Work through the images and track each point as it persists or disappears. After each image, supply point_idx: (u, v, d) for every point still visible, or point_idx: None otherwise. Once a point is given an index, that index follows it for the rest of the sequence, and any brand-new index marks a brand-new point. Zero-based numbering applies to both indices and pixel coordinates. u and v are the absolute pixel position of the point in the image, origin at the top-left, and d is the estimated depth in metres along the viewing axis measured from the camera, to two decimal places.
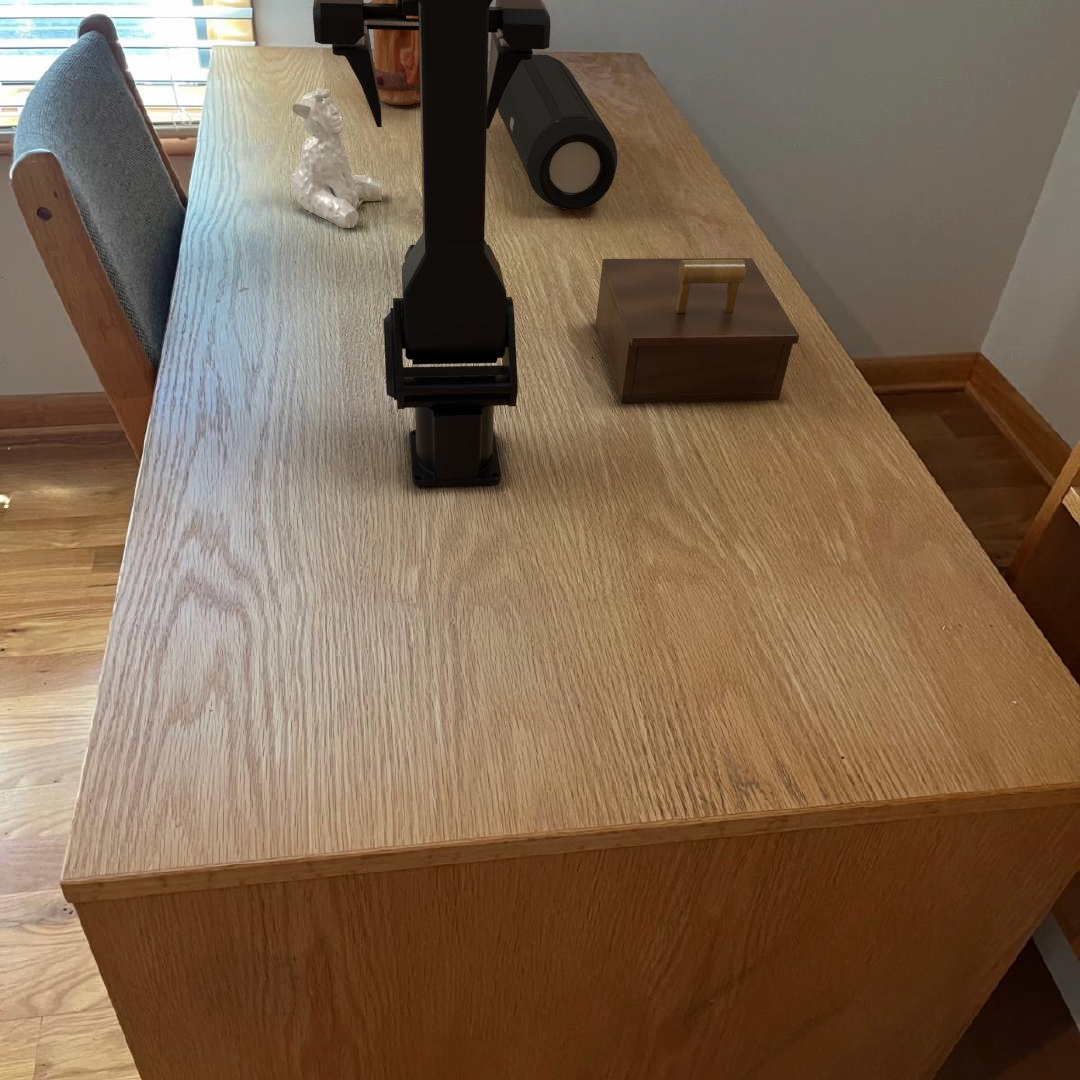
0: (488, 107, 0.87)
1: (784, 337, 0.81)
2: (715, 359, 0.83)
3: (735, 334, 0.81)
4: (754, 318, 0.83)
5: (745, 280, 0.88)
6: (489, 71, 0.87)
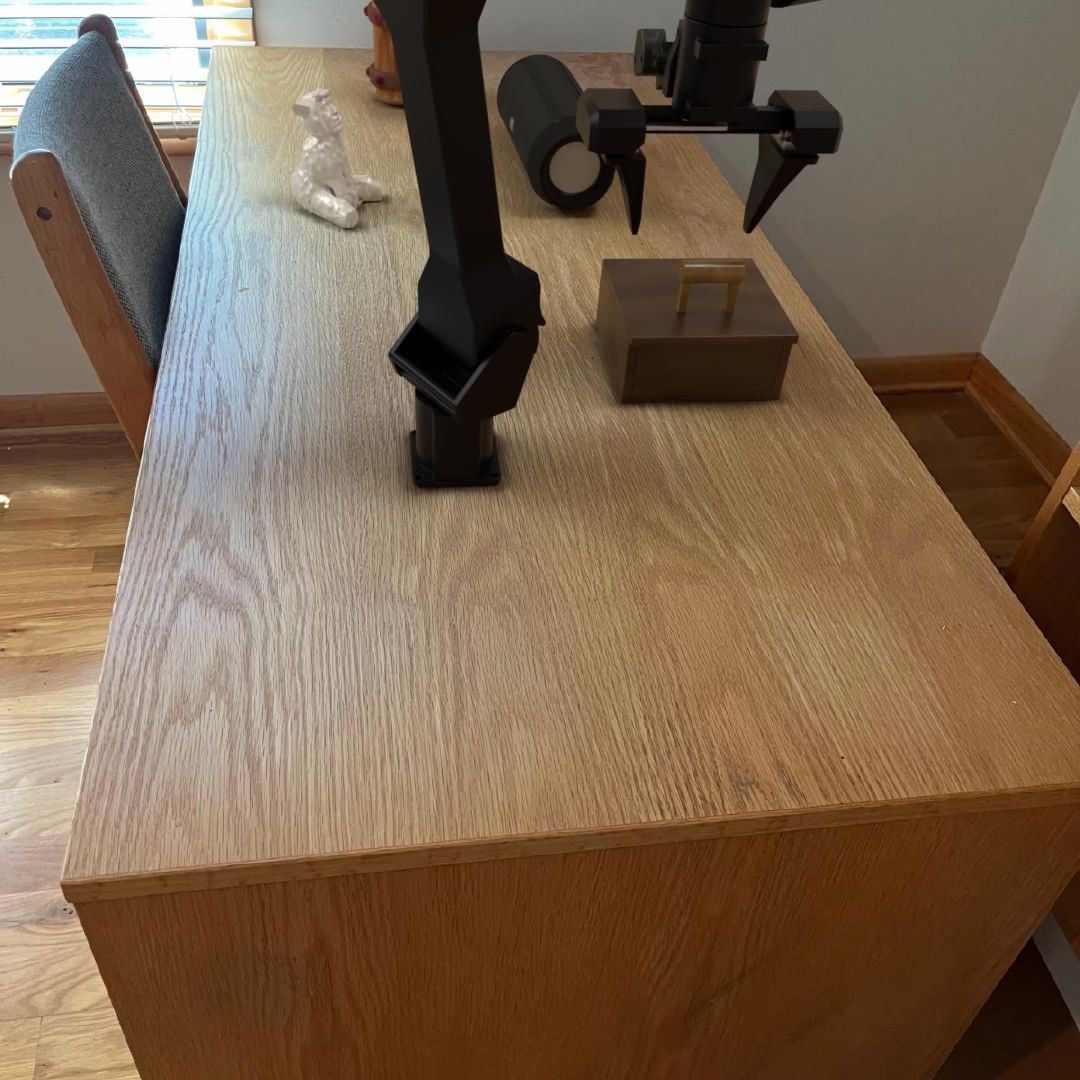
0: (757, 212, 0.79)
1: (784, 337, 0.81)
2: (715, 359, 0.83)
3: (735, 334, 0.81)
4: (754, 318, 0.83)
5: (745, 280, 0.88)
6: (758, 173, 0.78)
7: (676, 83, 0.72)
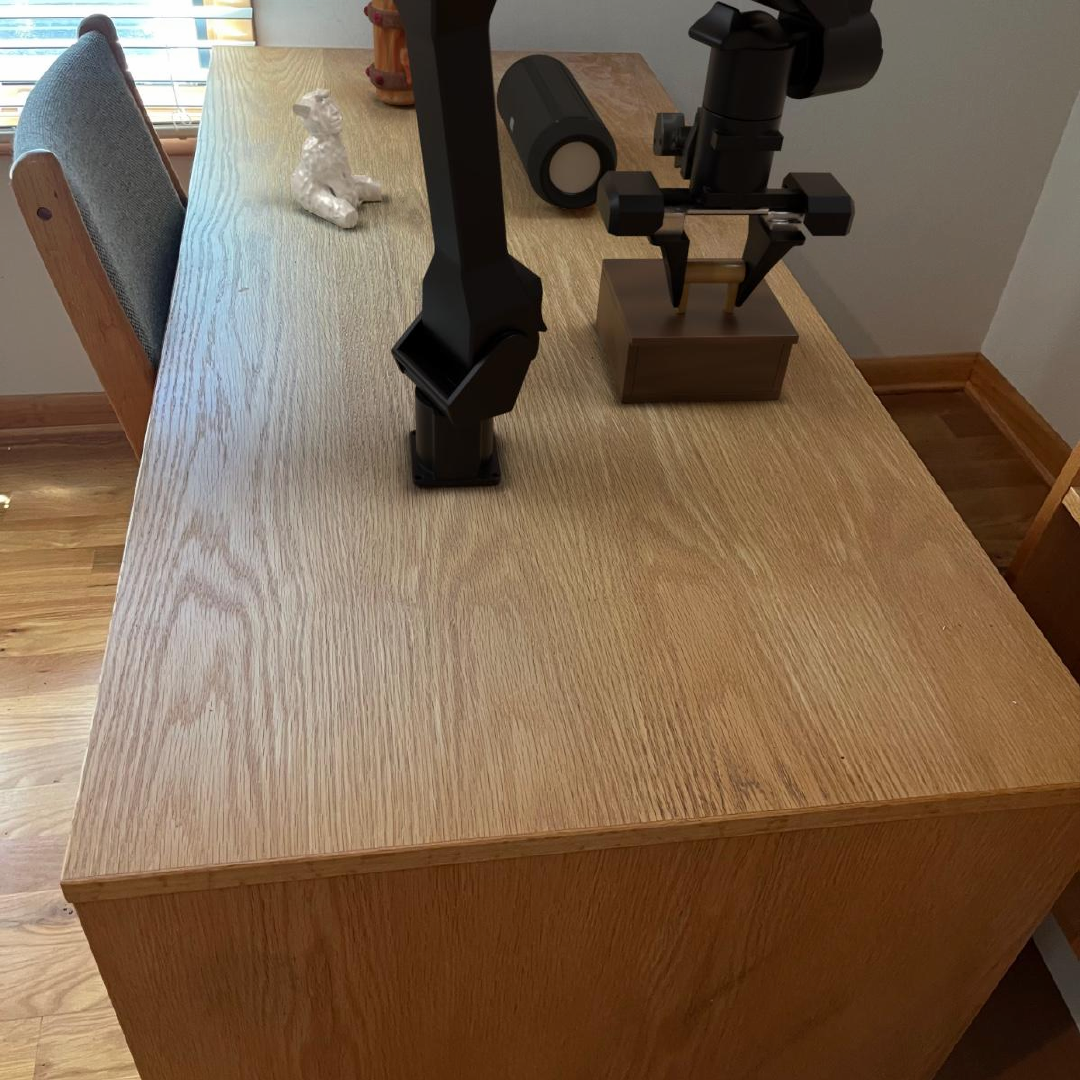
0: (746, 288, 0.81)
1: (784, 337, 0.81)
2: (715, 359, 0.83)
3: (735, 334, 0.81)
4: (754, 318, 0.83)
5: None
6: (748, 250, 0.81)
7: (694, 169, 0.75)
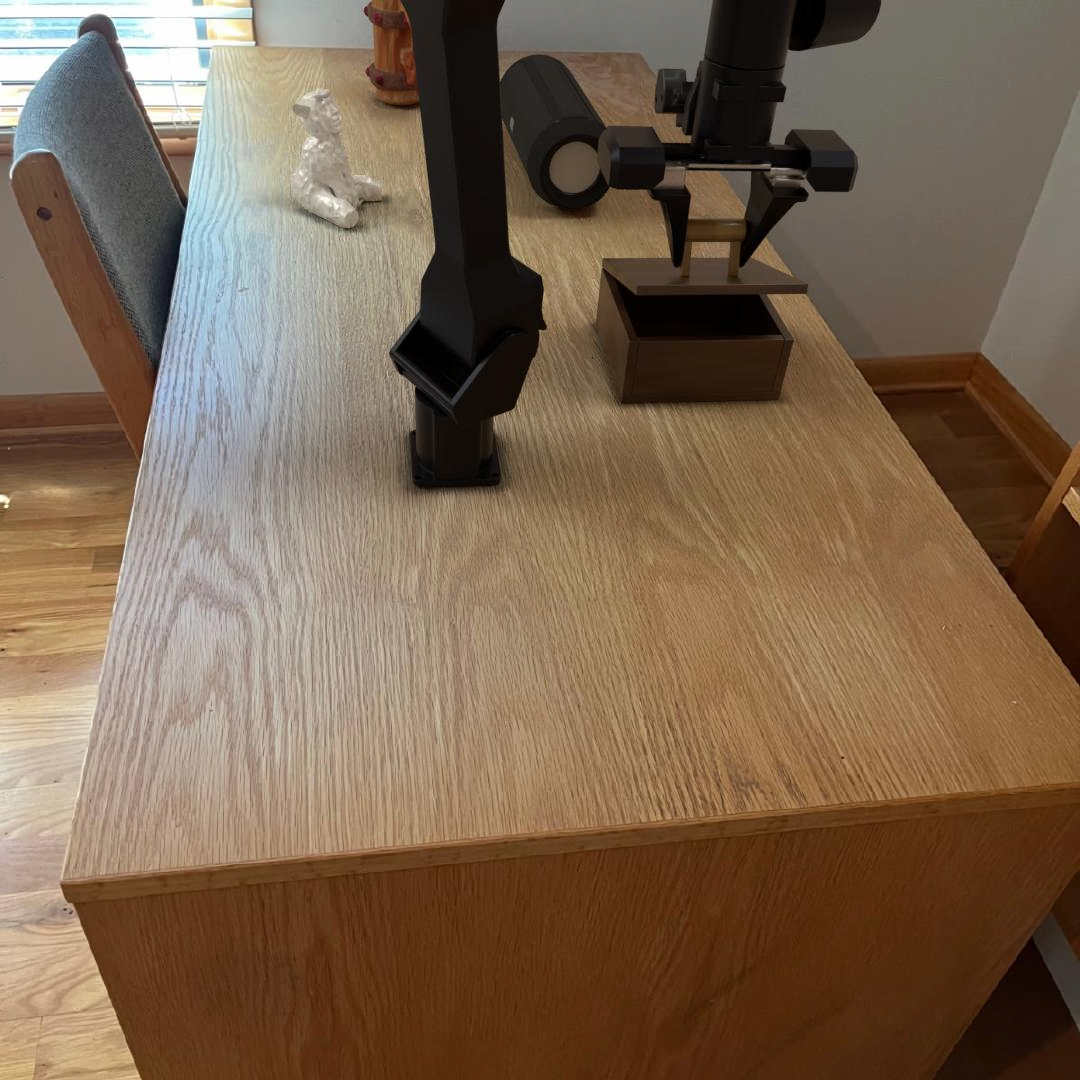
0: (748, 247, 0.80)
1: (793, 286, 0.79)
2: (715, 359, 0.83)
3: (742, 283, 0.79)
4: (760, 277, 0.81)
5: (747, 264, 0.87)
6: (750, 209, 0.80)
7: (696, 122, 0.74)
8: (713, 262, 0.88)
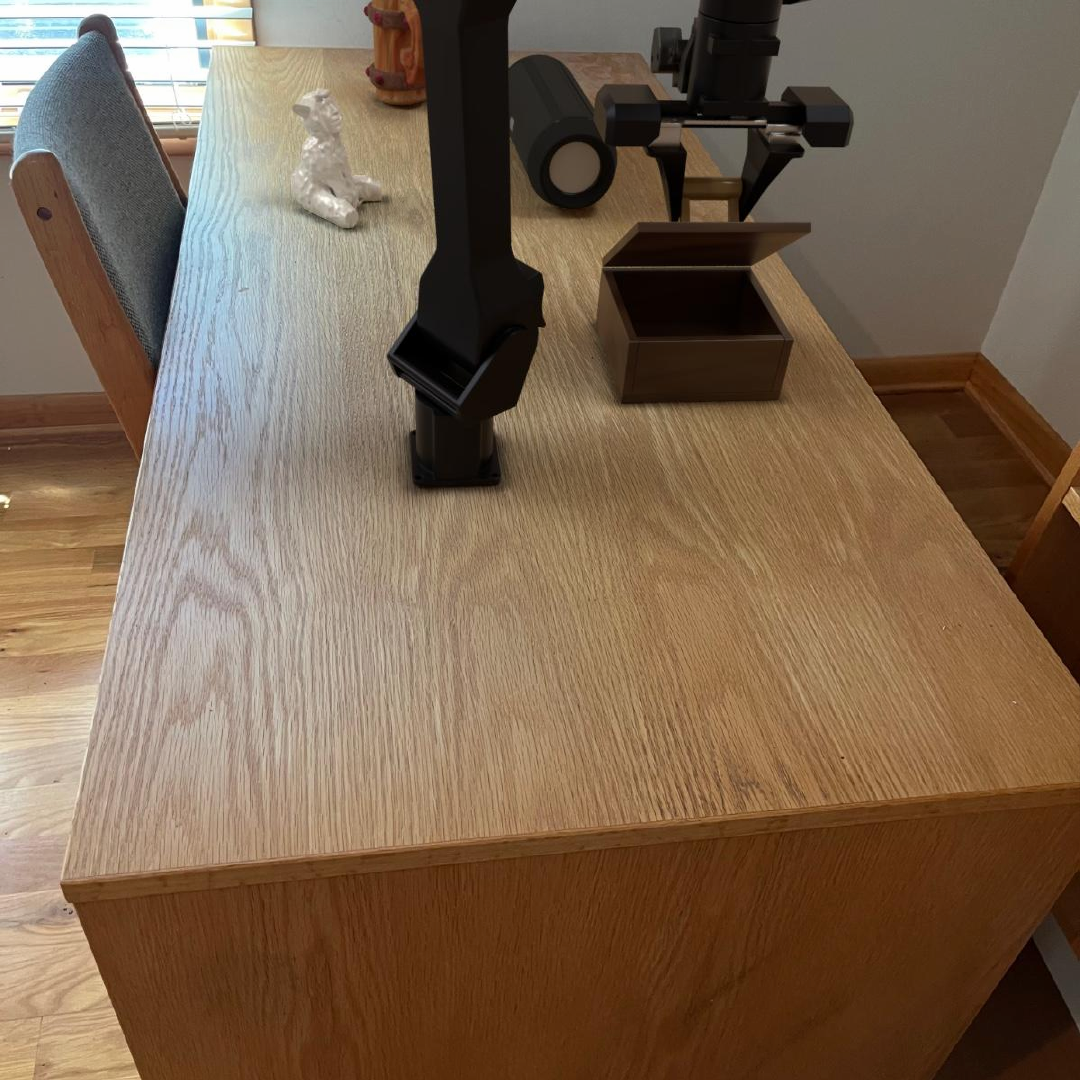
0: (745, 206, 0.80)
1: (796, 224, 0.78)
2: (715, 359, 0.83)
3: (744, 222, 0.78)
4: None
5: None
6: (747, 167, 0.80)
7: (691, 79, 0.75)
8: None
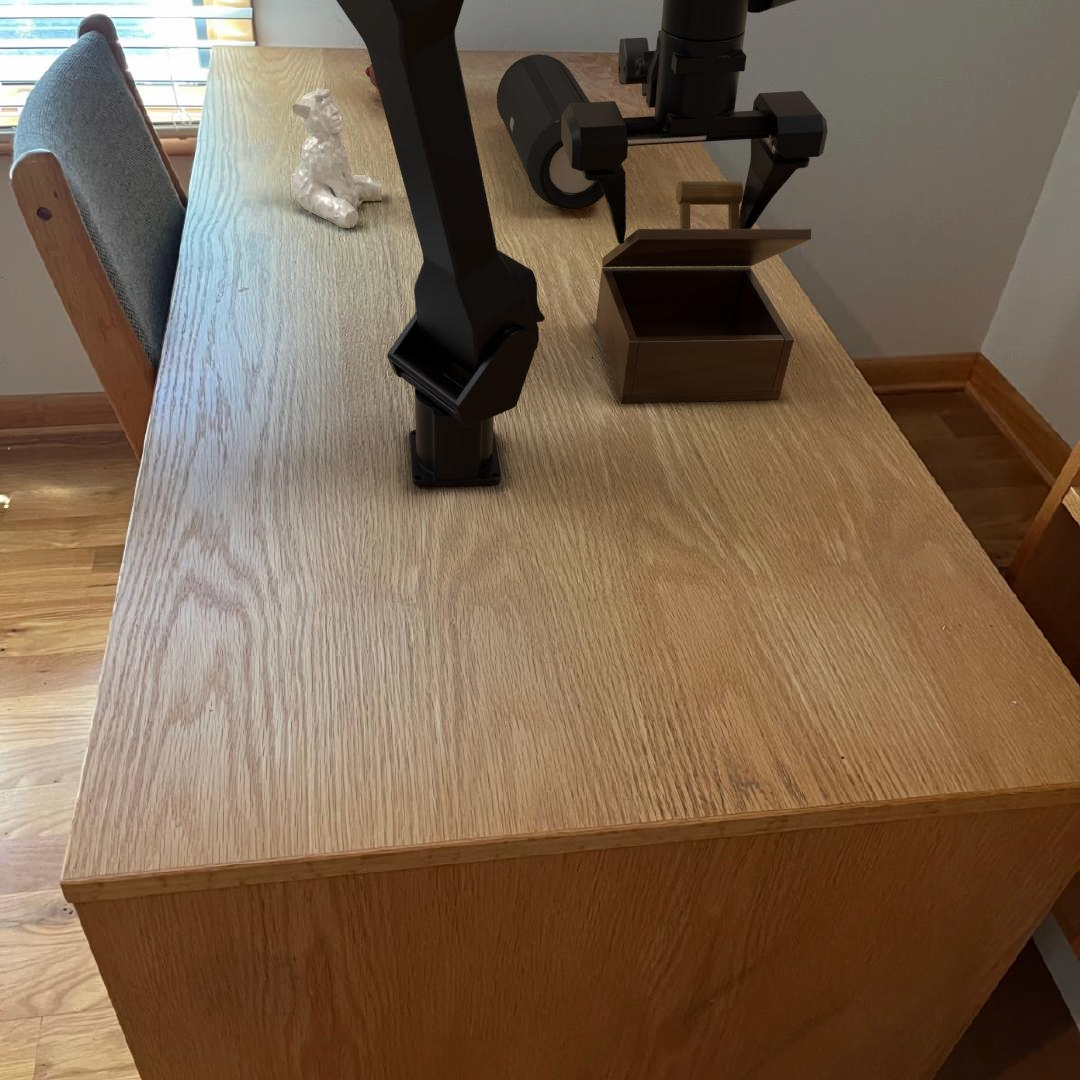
0: (750, 215, 0.79)
1: (796, 231, 0.78)
2: (715, 359, 0.83)
3: (744, 229, 0.78)
4: None
5: None
6: (751, 176, 0.79)
7: (657, 95, 0.73)
8: None
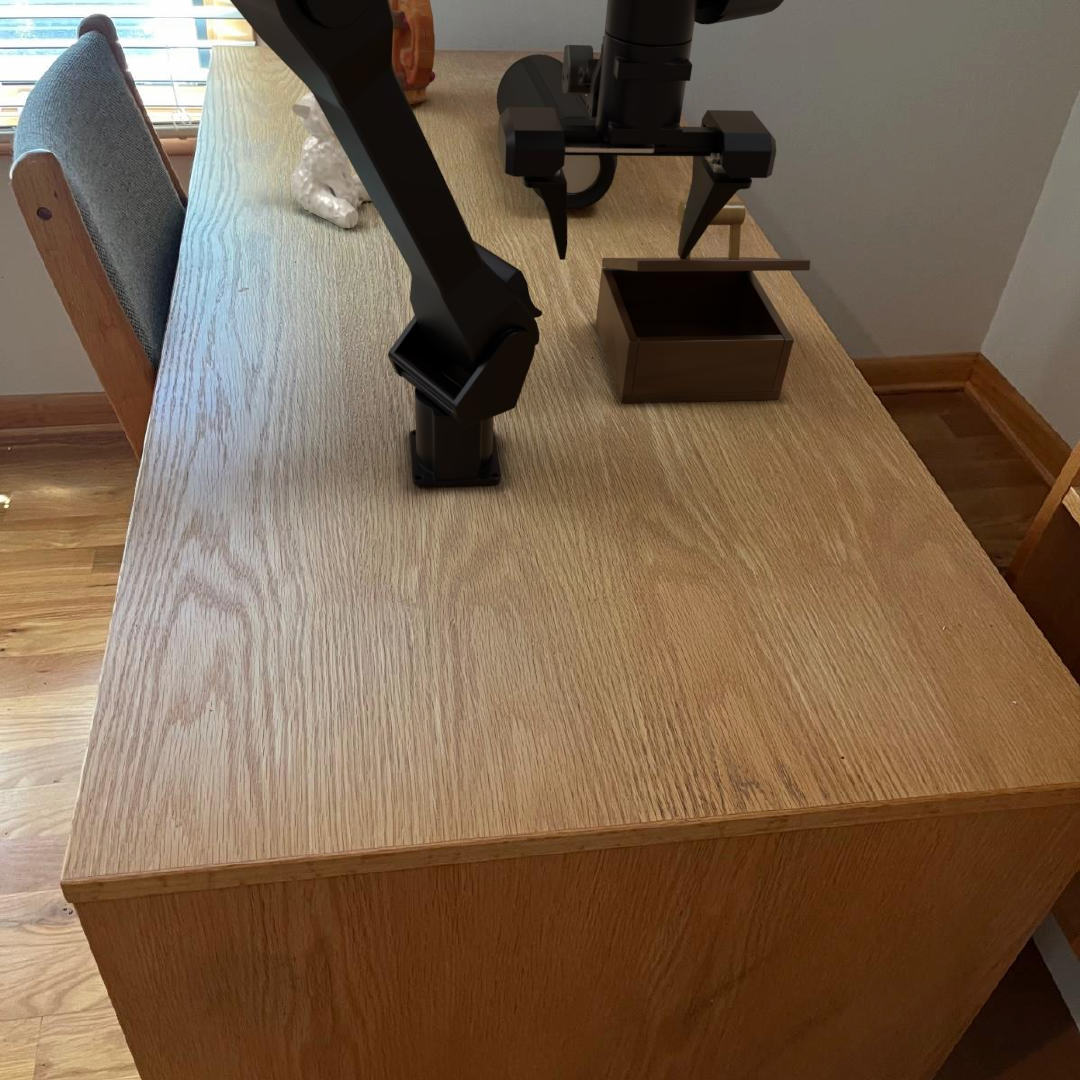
0: (690, 238, 0.75)
1: (795, 262, 0.79)
2: (715, 359, 0.83)
3: (744, 259, 0.78)
4: None
5: None
6: (692, 196, 0.75)
7: (599, 103, 0.69)
8: None
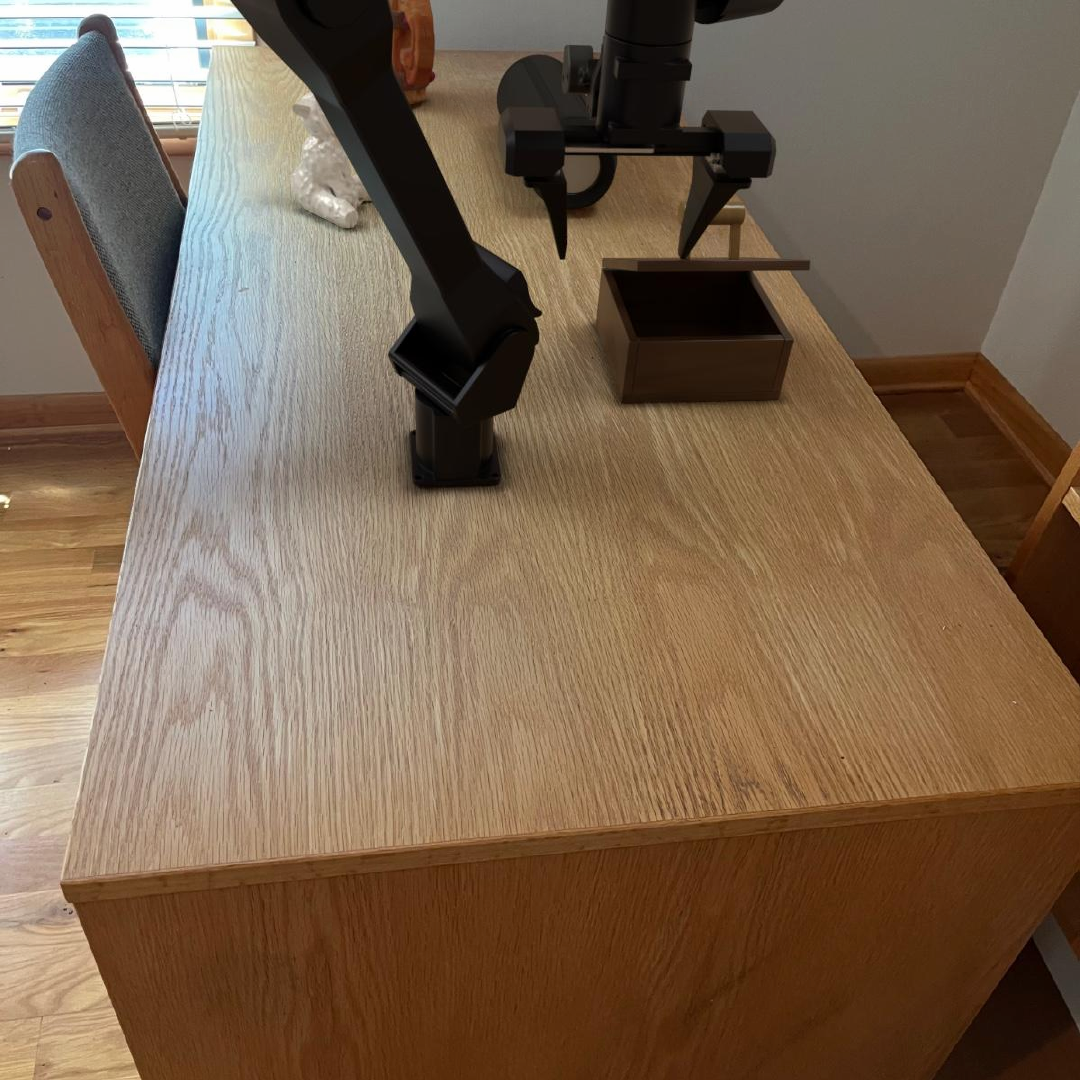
0: (690, 238, 0.75)
1: (795, 262, 0.79)
2: (715, 359, 0.83)
3: (744, 259, 0.78)
4: None
5: None
6: (692, 196, 0.75)
7: (599, 103, 0.69)
8: None
